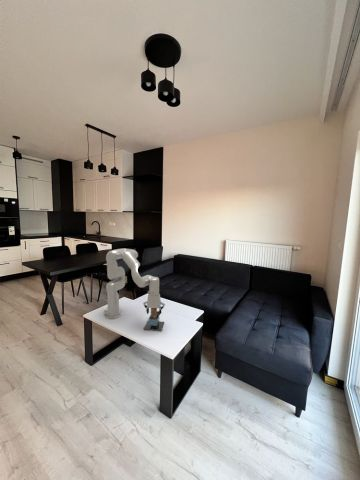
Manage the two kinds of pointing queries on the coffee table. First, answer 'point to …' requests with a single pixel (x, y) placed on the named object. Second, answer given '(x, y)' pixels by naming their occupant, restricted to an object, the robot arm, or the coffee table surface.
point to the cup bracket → (154, 324)
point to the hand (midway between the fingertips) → (153, 313)
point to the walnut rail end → (153, 313)
